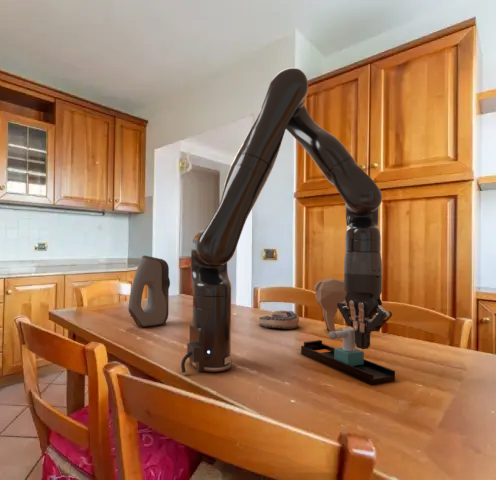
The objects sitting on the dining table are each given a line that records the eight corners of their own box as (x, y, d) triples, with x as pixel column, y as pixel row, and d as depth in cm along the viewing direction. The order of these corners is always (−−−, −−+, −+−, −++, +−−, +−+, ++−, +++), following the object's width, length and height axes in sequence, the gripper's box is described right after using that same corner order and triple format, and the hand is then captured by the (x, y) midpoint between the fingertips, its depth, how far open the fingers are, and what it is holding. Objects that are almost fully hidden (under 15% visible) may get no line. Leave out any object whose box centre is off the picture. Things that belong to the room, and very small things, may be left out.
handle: (336, 368, 75) (336, 333, 75) (323, 362, 79) (323, 329, 79) (364, 364, 78) (364, 330, 78) (349, 358, 82) (349, 326, 82)
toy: (384, 338, 105) (384, 242, 105) (316, 334, 109) (316, 242, 109) (373, 330, 114) (373, 242, 114) (310, 327, 118) (311, 242, 118)
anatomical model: (252, 325, 120) (252, 312, 120) (279, 319, 130) (279, 307, 130) (281, 332, 110) (281, 318, 110) (308, 325, 120) (308, 312, 120)
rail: (371, 385, 70) (371, 370, 70) (301, 353, 89) (301, 342, 89) (395, 380, 72) (395, 366, 72) (321, 351, 92) (321, 339, 92)
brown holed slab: (170, 324, 121) (170, 255, 121) (132, 330, 112) (133, 256, 112) (161, 321, 126) (161, 254, 126) (124, 326, 117) (125, 255, 117)
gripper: (327, 269, 81) (327, 341, 81) (377, 274, 68) (377, 359, 68) (350, 269, 83) (350, 338, 83) (402, 273, 71) (402, 355, 71)
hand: (362, 348), depth 76 cm, fingers closed
